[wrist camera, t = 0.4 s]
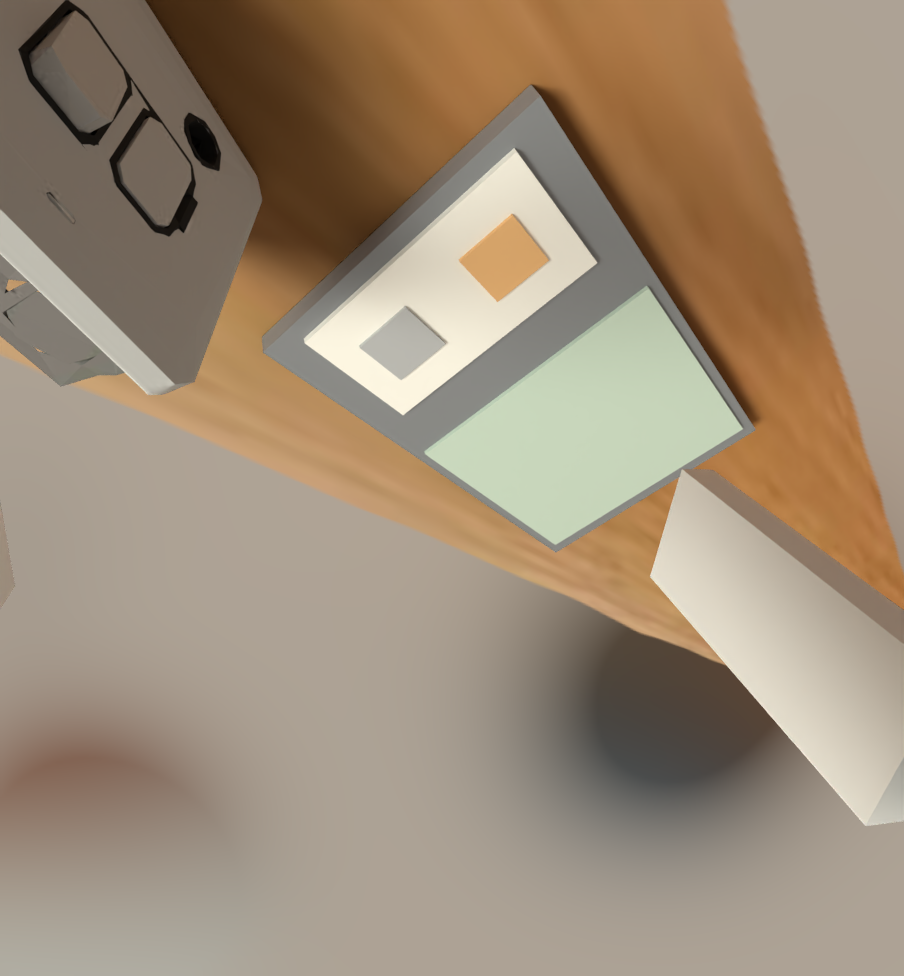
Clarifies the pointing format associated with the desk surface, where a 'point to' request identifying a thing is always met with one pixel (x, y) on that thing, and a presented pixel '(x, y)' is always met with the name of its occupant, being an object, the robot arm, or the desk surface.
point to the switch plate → (516, 338)
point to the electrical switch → (112, 195)
